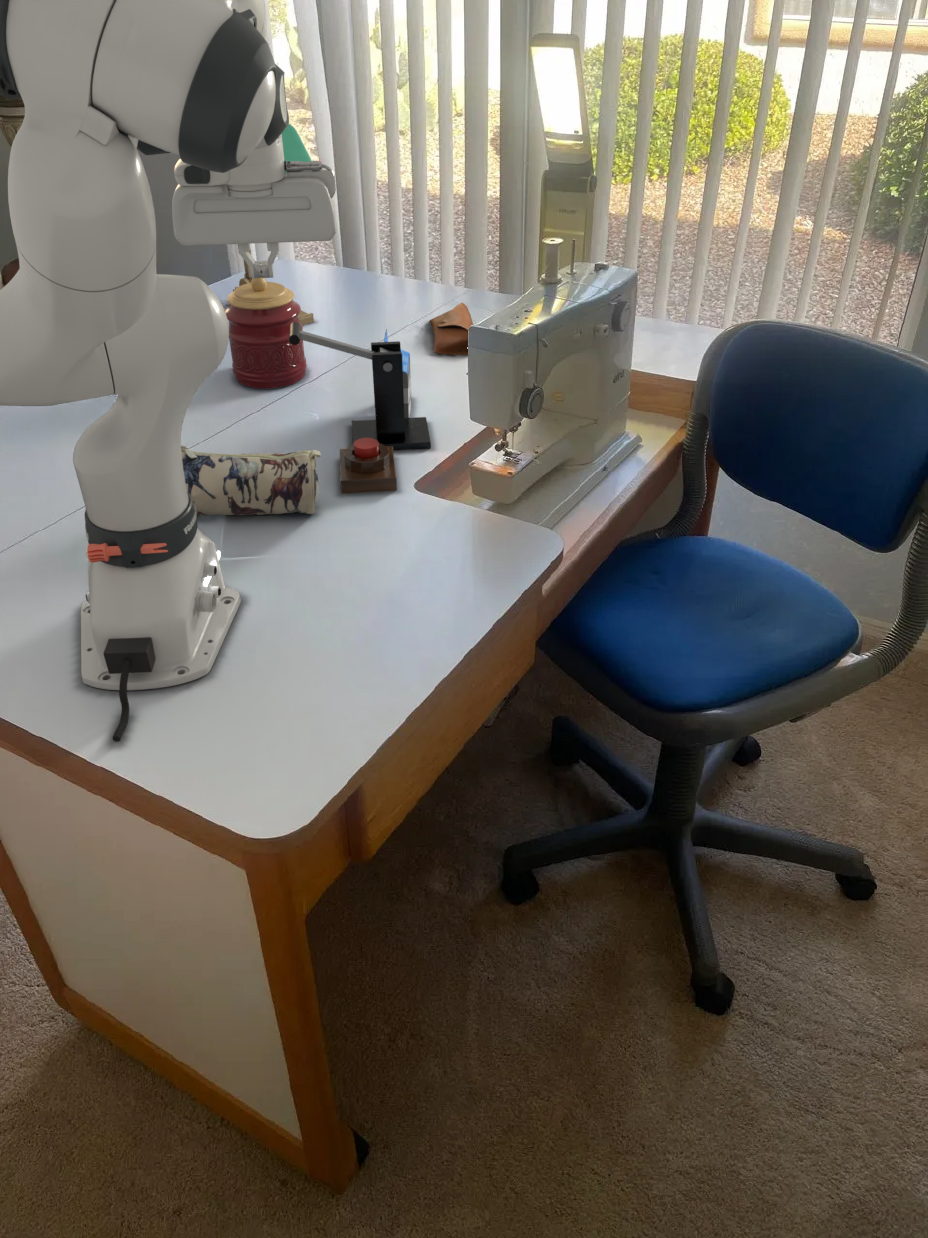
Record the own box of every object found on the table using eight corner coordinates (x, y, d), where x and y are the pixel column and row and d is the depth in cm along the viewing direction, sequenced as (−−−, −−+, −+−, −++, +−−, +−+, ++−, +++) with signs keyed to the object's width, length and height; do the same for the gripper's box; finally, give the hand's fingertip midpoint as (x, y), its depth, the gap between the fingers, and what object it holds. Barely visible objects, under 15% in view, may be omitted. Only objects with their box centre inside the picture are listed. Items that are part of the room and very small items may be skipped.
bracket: (353, 453, 150) (346, 361, 141) (352, 427, 157) (345, 338, 148) (430, 449, 151) (428, 357, 142) (426, 423, 158) (423, 335, 149)
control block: (397, 491, 140) (395, 466, 138) (341, 494, 140) (339, 469, 137) (393, 458, 148) (392, 434, 146) (340, 461, 147) (338, 437, 145)
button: (379, 459, 140) (378, 448, 139) (354, 460, 140) (353, 449, 139) (378, 447, 143) (377, 436, 142) (354, 448, 143) (353, 438, 142)
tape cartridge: (410, 421, 158) (407, 349, 151) (386, 422, 158) (382, 349, 151) (412, 398, 165) (409, 328, 158) (389, 398, 165) (385, 328, 158)
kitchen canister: (220, 374, 174) (204, 274, 163) (281, 355, 181) (270, 258, 170) (259, 396, 166) (245, 293, 155) (321, 376, 173) (312, 276, 162)
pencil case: (163, 526, 133) (149, 462, 127) (178, 495, 139) (165, 433, 133) (323, 526, 133) (316, 462, 127) (330, 495, 139) (324, 433, 133)
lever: (287, 346, 140) (291, 330, 139) (288, 332, 144) (292, 317, 143) (394, 376, 145) (399, 361, 144) (392, 362, 149) (397, 347, 148)
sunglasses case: (426, 318, 194) (442, 289, 191) (456, 335, 197) (473, 306, 194) (433, 353, 180) (451, 322, 177) (465, 370, 183) (484, 340, 179)
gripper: (333, 154, 122) (342, 266, 130) (167, 158, 120) (186, 271, 128) (333, 165, 117) (342, 281, 125) (160, 170, 115) (181, 287, 123)
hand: (262, 276), depth 127 cm, fingers closed
